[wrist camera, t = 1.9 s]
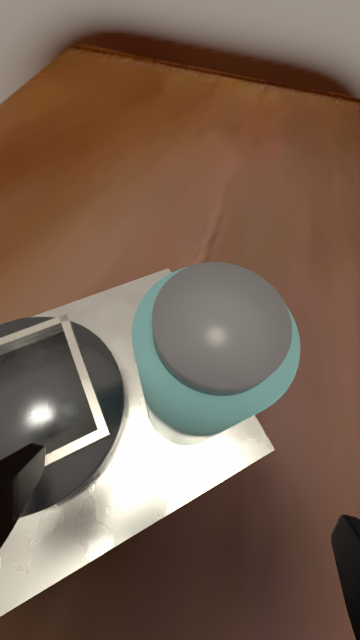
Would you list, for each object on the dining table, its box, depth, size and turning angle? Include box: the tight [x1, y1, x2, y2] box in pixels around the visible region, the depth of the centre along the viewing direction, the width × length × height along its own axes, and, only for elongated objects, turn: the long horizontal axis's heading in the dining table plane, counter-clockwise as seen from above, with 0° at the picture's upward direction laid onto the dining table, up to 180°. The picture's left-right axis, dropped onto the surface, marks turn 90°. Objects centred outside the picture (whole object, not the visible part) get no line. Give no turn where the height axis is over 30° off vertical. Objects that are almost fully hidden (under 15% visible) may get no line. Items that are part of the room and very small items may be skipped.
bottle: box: [132, 262, 300, 446], centre depth 14 cm, size 6×6×13 cm
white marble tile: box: [0, 268, 275, 616], centre depth 18 cm, size 17×22×5 cm
